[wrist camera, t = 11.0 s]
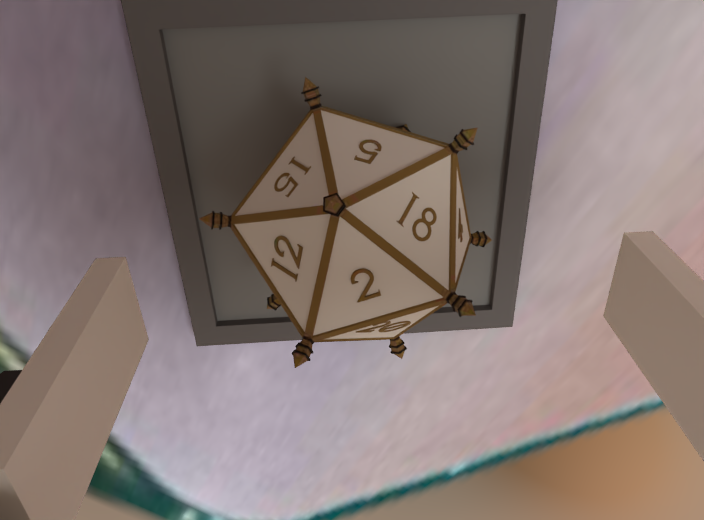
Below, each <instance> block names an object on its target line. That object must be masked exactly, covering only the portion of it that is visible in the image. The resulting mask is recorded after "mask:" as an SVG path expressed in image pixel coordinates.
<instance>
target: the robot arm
mask: <svg viewBox="0 0 704 520" xmlns="http://www.w3.org/2000/svg"><path fill="white" fill-rule="evenodd" d="M604 318H605V319H606V321H607V322H608V323H609V325H610V326H611V328H612V329H613V331H614V332H615V334H616V335H617V336H618V338H619V339H620V341H621V342H622V344H623V345H624V347H625V348H626V349H627V351H628V352H629V354H630V355H631V357H632V358H633V360H634V361H635V362H636V364H637V365H638V367H639V368H640V370H641V371H642V373H643V374H644V376H645V377H646V378H647V380H648V381H649V383H650V384H651V386H652V387H653V389H654V390H655V391H656V393H657V394H658V396H659V397H660V399H661V400H662V402H663V403H664V404H665V406H666V407H667V409H668V410H669V412H670V413H671V415H672V416H673V418H674V419H675V420H676V422H677V423H678V425H679V426H680V428H681V429H682V431H683V432H684V433H685V435H686V436H687V438H688V439H689V440H690V442H691V444H692V445H693V446H694V448H695V449H696V451H697V452H698V454H699V455H700V457H701V458H702V459H703V461H704V281H703V280H702V279H701V278H700V277H699V276H698V275H697V274H696V273H695V272H694V271H693V270H692V269H691V268H690V267H689V266H688V265H687V264H686V263H685V262H684V261H683V260H682V259H681V258H680V257H679V256H677V255H676V254H675V253H674V252H673V251H672V250H671V249H670V248H669V247H668V246H667V245H666V244H665V243H664V242H663V241H662V240H661V239H660V238H659V237H658V236H657V235H656V234H655V233H654V232H653V231H649V232H628V233H624V235H623V239H622V243H621V247H620V251H619V255H618V259H617V263H616V267H615V271H614V275H613V279H612V283H611V287H610V291H609V296H608V300H607V304H606V308H605V312H604ZM148 340H149V339H148V336H147V332H146V328H145V325H144V321H143V318H142V314H141V311H140V307H139V303H138V300H137V296H136V293H135V289H134V286H133V282H132V278H131V275H130V271H129V268H128V264H127V261H126V257H114V258H96V259H95V261H94V262H93V264H92V265H91V267H90V268H89V270H88V271H87V273H86V274H85V276H84V277H83V279H82V280H81V282H80V283H79V285H78V286H77V288H76V289H75V291H74V292H73V294H72V296H71V297H70V299H69V300H68V302H67V303H66V305H65V306H64V308H63V309H62V311H61V312H60V314H59V315H58V317H57V318H56V320H55V321H54V323H53V324H52V326H51V327H50V329H49V330H48V332H47V334H46V335H45V337H44V338H43V340H42V341H41V343H40V344H39V346H38V347H37V349H36V350H35V352H34V353H33V355H32V356H31V358H30V359H29V361H28V362H27V364H26V365H25V367H24V369H23V370H14V371H3V372H2V373H1V374H0V520H75V518H76V515H77V513H78V511H79V508H80V506H81V503H82V501H83V498H84V496H85V493H86V491H87V489H88V486H89V484H90V481H91V479H92V476H93V474H94V471H95V469H96V467H97V464H98V462H99V459H100V457H101V454H102V452H103V449H104V447H105V445H106V442H107V440H108V437H109V435H110V432H111V430H112V428H113V425H114V423H115V420H116V418H117V415H118V413H119V410H120V408H121V406H122V403H123V401H124V398H125V396H126V393H127V391H128V388H129V386H130V384H131V381H132V379H133V376H134V374H135V371H136V369H137V366H138V364H139V362H140V359H141V357H142V354H143V352H144V349H145V347H146V345H147V342H148Z"/></svg>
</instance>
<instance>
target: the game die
mask: <svg viewBox="0 0 704 520" xmlns="http://www.w3.org/2000/svg"><path fill="white" fill-rule="evenodd" d="M318 88H319V86H318V87H317V86H316V85H315V84H313V83H312V82H311V81H310V80H309V79H308V78H306V77H305V82H304V87H303V92H301V94H304V97H305V100H304V101H305V102H307V103H308V104H309V106H310V111H309V112H308V113H307V115H306V116H305V117H304V119H303V120H302V121H301V123H300V124H299V125H298V127H297V128H296V129H295V131H294V132H293V133H292V135H291V136H290V137H289V139H288V140H287V141H286V143H285V144H284V145H283V147H282V148H281V149H280V151H279V152H278V153H277V155H276V156H275V157H274V159H273V160H272V161H271V163H270V164H269V165H268V167H267V168H266V169H265V171H264V172H263V173H262V175H261V176H260V177H259V179H258V180H257V181H256V183H255V184H254V185H253V187H252V188H251V189H250V191H249V192H248V193H247V195H246V196H245V197H244V199H243V200H242V201H241V203H240V204H239V205H238V207H237V208H236V209H235V211H234V212H233V213H232V215H231V216H227V215H225V214H223V213H222V212H220V213H214V211H212V213H210V214H208V215H205V216H203V217H201V218H199V219H200V220H201V221H203V222H204V223H205V224H207V225H208V226H209V227H211V230H213V228H219V230H221V228H223V227H230V228H231V229H232V231H233V232H234V234H235V235H236V237H237V238H238V240H239V242H240V243H241V245H242V246H243V248H244V249H245V251H246V252H247V254H248V255H249V257H250V258H251V260H252V261H253V263H254V264H255V266H256V268H257V269H258V271H259V272H260V274H261V275H262V277H263V278H264V280H265V281H266V283H267V284H268V286H269V287H270V289H271V291H272V292H273V294H271V297H267V309H274V310H275V311H276V310H277V308H278V307H280V306H282V307H283V309H284V310H285V312H286V313H287V315H288V317H289V318H290V320H291V321H292V323H293V324H294V326H295V327H296V329H297V330H298V332H299V333H300V335H301V336H302V341H301V342H300V343H298V344H297V345H296V350H294V351H293V352H292V355H293V357H294V364H295V368H296V367H298V366H299V365H301V364H303V363H304V362H306V361H310V358H309V357H310V354H311V353H312V354H313V351H312V344H313V343H314V342H332V341H359V340H386V339H390V345H389V348H391V353H392V354H395V355H397V356H398V357H400V358H401V359H402V357H403V354H404V351H405V350H406V349H407V348H406V347H405V346H404V342H403V341H402V340H401V339H400V338H399V336H400V335H401V334H403V333H404V332H406V331H407V330H409V329H410V328H412V327H413V326H415V325H416V324H418V323H419V322H421V321H422V320H423V319H425V318H426V317H428V316H429V315H431V314H432V313H434V312H435V311H437V310H438V309H440V308H441V307H443V306H444V305H446V304H447V303H448V304H450V305H451V306H452V309H453V311H454V312H455V311H456V312H457V313H458V314H459V317H461V316H476V314H475V311H474V308H473V305H472V302H473V301H472V300H468V299H466V296H462V295H457V294H456V293H455V291H456V288H457V285H458V281H459V278H460V275H461V272H462V268H463V265H464V262H465V258H466V255H467V252H468V249H469V245H470V244H471V243H472V245H475V246H481V247H485V245H486V244H488V243H489V242H490V241H492V239H491V238H489V237H488V236H487V235H486V234H485V231H482V232H479V231H476V232H475V233H473V234H471V232H470V226H469V220H468V215H467V209H466V203H465V197H464V191H463V186H462V180H461V174H460V168H459V162H458V157H457V153H458V152H459V151H461V150H467V147H468V146H470V145H474V142H473V141H474V138H475V135H476V132H477V128H478V127H477V128H471V129H466V130H464V129H461V131H460V134H458V135H457V134H456V135H455V137H454V141H453V142H452V143H450V144H448V143H444V142H441V141H438V140H434V139H431V138H428V137H425V136H421V135H418V134H415V133H411V131H410V130H409V129H408V126H407V124H405V125H403V126H398V127H396V128H395V127H391V126H388V125H385V124H381V123H378V122H375V121H371V120H368V119H365V118H361V117H358V116H355V115H351V114H348V113H345V112H341V111H338V110H335V109H331V108H328V107H325V106H322V105H321V103H320V96H322V95H321V94H319V91H318Z"/></svg>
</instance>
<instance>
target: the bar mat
mask: <svg viewBox="0 0 704 520" xmlns="http://www.w3.org/2000/svg"><path fill="white" fill-rule="evenodd" d="M121 2H122V7H123V11H124V16H125V21H126V25H127V30H128V34H129V39H130V43H131V48H132V53H133V57H134V62H135V66H136V71H137V75H138V80H139V84H140V89H141V94H142V98H143V103H144V107H145V112H146V116H147V121H148V126H149V130H150V135H151V139H152V144H153V148H154V153H155V157H156V162H157V167H158V171H159V176H160V180H161V185H162V189H163V194H164V199H165V203H166V208H167V212H168V217H169V221H170V226H171V231H172V235H173V240H174V244H175V249H176V253H177V258H178V262H179V267H180V272H181V276H182V281H183V285H184V290H185V294H186V299H187V304H188V308H189V313H190V317H191V322H192V326H193V331H194V335H195V340H196V345H197V346H208V345H224V344H240V343H256V342H273V341H289V340H302V336H301V335H300V333H299V332H298V330H297V329H296V327H295V326H294V324H293V323H292V321H291V320H290V318H289V317H288V315H287V313H286V312H285V310H284V309H283V307H282V306H280V307H278V308H277V310H276V311H275V310H274V309H267V297H271V294H273V292H272V291H271V289H270V287H269V286H268V284H267V283H266V281H265V280H264V278H263V277H262V275H261V274H260V272H259V271H258V269H257V268H256V266H255V264H254V263H253V261H252V260H251V258H250V257H249V255H248V254H247V252H246V251H245V249H244V248H243V246H242V245H241V243H240V242H239V240H238V238H237V237H236V235H235V234H234V232H233V231H232V229H231V228H230V227H223V228H221V230H219V228H213V230H211V227H209V226H208V225H207V224H205V223H204V222H203V221H201V220H200V219H199V218H201V217H203V216H205V215H208V214H210V213H212V211H214V213H220V212H222V213H223V214H225V215H227V216H231V215H232V213H233V212H234V211H235V209H236V208H237V207H238V205H239V204H240V203H241V201H242V200H243V199H244V197H245V196H246V195H247V193H248V192H249V191H250V189H251V188H252V187H253V185H254V184H255V183H256V181H257V180H258V179H259V177H260V176H261V175H262V173H263V172H264V171H265V169H266V168H267V167H268V165H269V164H270V163H271V161H272V160H273V159H274V157H275V156H276V155H277V153H278V152H279V151H280V149H281V148H282V147H283V145H284V144H285V143H286V141H287V140H288V139H289V137H290V136H291V135H292V133H293V132H294V131H295V129H296V128H297V127H298V125H299V124H300V123H301V121H302V120H303V119H304V117H305V116H306V115H307V113H308V112H309V111H310V106H309V104H308V103H307V102H305V101H304V100H305V97H304V94H301V92H303V87H304V82H305V77H306V78H308V79H309V80H310V81H311V82H312V83H313V84H315V85H316V86H317V87H318V86H319V88H318V91H319V94H321V95H322V96H320V103H321V105H322V106H325V107H328V108H331V109H335V110H338V111H341V112H345V113H348V114H351V115H355V116H358V117H361V118H365V119H368V120H371V121H375V122H378V123H381V124H385V125H388V126H391V127H395V128H396V127H398V126H403V125H405V124H407V126H408V129H409V130H410V131H411V133H415V134H418V135H421V136H425V137H428V138H431V139H434V140H438V141H441V142H444V143H448V144H450V143H452V142H453V141H454V137H455V135H456V134H457V135H458V134H460V131H461V129H464V130H466V129H471V128H477V127H478V128H477V132H476V135H475V138H474V141H473V142H474V145H470V146H468V147H467V150H461V151H459V152H458V153H457V157H458V162H459V168H460V174H461V180H462V186H463V191H464V197H465V203H466V209H467V215H468V220H469V226H470V232H471V234H473V233H475V232H476V231H479V232H482V231H485V234H486V235H487V236H488V237H489V238H491V239H492V241H490V242H489V243H488V244H486V245H485V247H481V246H475V245H472V243H471V244H470V245H469V249H468V252H467V255H466V258H465V262H464V265H463V268H462V272H461V275H460V278H459V281H458V285H457V288H456V291H455V293H456V294H457V295H462V296H466V299H468V300H472V301H473V302H472V305H473V308H474V311H475V314H476V316H461V317H459V314H458V313H457V312H456V311H455V312H454V311H453V309H452V306H451V305H450V304H448V303H447V304H446V305H444V306H443V307H441V308H440V309H438V310H437V311H435V312H434V313H432V314H431V315H429V316H428V317H426V318H425V319H423V320H422V321H421V322H419V323H418V324H416V325H415V326H413V327H412V328H410V329H409V330H407V331H406V332H404V333H419V332H435V331H451V330H467V329H484V328H500V327H512V325H513V318H514V310H515V303H516V296H517V289H518V282H519V274H520V267H521V260H522V253H523V245H524V238H525V231H526V224H527V217H528V209H529V202H530V195H531V188H532V181H533V173H534V166H535V159H536V152H537V144H538V137H539V130H540V123H541V116H542V108H543V101H544V94H545V87H546V80H547V72H548V65H549V58H550V51H551V44H552V36H553V29H554V22H555V15H556V7H557V0H121Z"/></svg>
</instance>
